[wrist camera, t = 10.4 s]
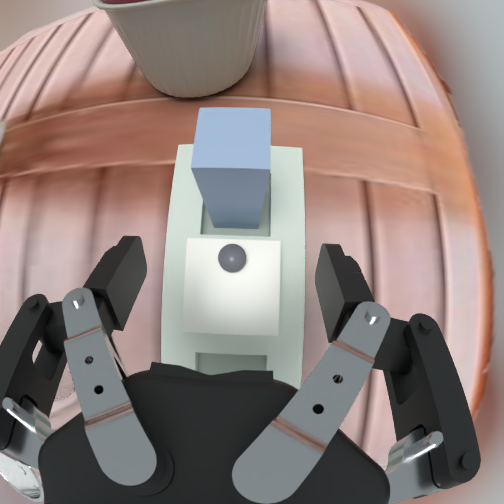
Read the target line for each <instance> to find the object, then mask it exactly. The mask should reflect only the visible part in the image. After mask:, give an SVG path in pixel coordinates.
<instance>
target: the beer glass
mask: <svg viewBox="0 0 504 504" xmlns="http://www.w3.org/2000/svg"><path fill="white" fill-rule="evenodd" d="M81 411H82V410H81V407H80V404H79V401H78V398H77V394H76V391H74V392H73V393H72V394H71V395H70V396H69V397H67V398H66V399H63V400H60V401H55V402H53V406H52V409H51V413H50V416H49V420H50V423H51V430H52V431H53V432H55V431H56V430H58V429H59V428H60V427H62V426H63V425H64V424H65V423H67V422H68V421H69V420H71V419H72V418H73V417H75V416H76V415H77V414H79V413H80V412H81ZM0 474H1V476H2V477H3V478H4V479H5V480H6V481H7V482H8V483H9V484H10V486H12V487H13V488H14V489H15V490H16V491H17V492H18V493H20V494H21V495H23V496H24V497H26V498H27V499H29V500H31V501H34V502H41V501H43V500H44V492H43V486H42V481H41V477H40V473H39V470H38V469H36V468H34V467H32V466H27V465H25V464H23V463H21V462H19V461H17V460H13V459H11V458H9V457H7V456H6V455H4V454H2V453H0Z"/></svg>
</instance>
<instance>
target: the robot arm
mask: <svg viewBox="0 0 504 504" xmlns="http://www.w3.org/2000/svg"><path fill="white" fill-rule="evenodd" d="M361 272H362V271H361V269H360V267H359V265H358V263H357V262H356V261H355V260H354V259H353V258H352V257H351V256H345V255H344V252H343V250H342V248H341V246H340V245H339V244H322V246H321V250H320V255H319V259H318V264H317V268H316V273H315V285H316V289H317V293H318V297H319V302H320V306H321V310H322V315H323V319H324V323H325V328H326V333H327V337H328V342H329V343H332V344H331V345H330V347H329V348H328V350H327V351H326V353H325V354H324V356H323V357H322V358H321V360H320V361H319V363H318V364H317V366H316V367H315V368H314V370H313V371H312V373H311V374H310V375H309V377H308V378H307V379H306V381H305V382H304V383H303V385H302V386H301V387H300V389H299V390H298V389H297V388H295V387H294V386H292V385H290V384H288V383H285V382H282V381H280V380H276V379H273V371H263V370H239V371H234V372H228V373H222V374H215V375H208V374H204V373H201V372H198V371H195V370H192V369H189V368H186V367H183V366H180V365H172V364H164V363H157V362H152V363H151V367H150V370H146V371H141V372H138V373H135V374H132V375H130V376H129V374H128V372H127V370H126V368H125V366H124V364H123V361H122V359H121V357H120V354H119V352H118V349H117V347H116V344H115V342H114V339H113V337H112V332H113V330H121V331H123V330H124V327H125V324H126V322H127V319H128V317H129V315H130V312H131V310H132V307H133V305H134V302H135V300H136V298H137V295H138V293H139V291H140V289H141V286H142V284H143V282H144V279H145V277H146V273H147V264H146V259H145V255H144V250H143V245H142V241H141V238H140V237H139V236H123V237H122V238H121V240H120V241H119V243H118V244H117V246H113V247H112V248H110V249H109V250H108V251H107V252H105V254H104V255H103V257H102V258H101V260H100V262H99V263H98V264H97V266H96V268H95V269H94V270H93V272H92V273H91V275H90V276H89V278H88V280H87V281H86V283H85V284H84V286H83V288H76V289H74V290H72V291H70V292H69V293H68V294H67V295H66V296H65V297H64V299H63V301H61V302H54V303H49V302H48V300H47V298H46V297H45V296H44V295H43V294H36V295H33V296H31V297H29V298H28V299H27V300H26V301H25V302H24V303H23V305H22V307H21V308H20V310H19V312H18V313H17V315H16V317H15V319H14V320H13V322H12V324H11V326H10V328H9V330H8V331H7V333H6V335H5V337H4V339H3V341H2V343H1V345H0V453H2V454H4V455H6V456H7V457H9V458H11V459H13V460H17V461H19V462H21V463H23V464H25V465H27V466H32V467H34V468H36V469H38V470H39V473H40V477H41V481H42V486H43V492H44V504H394V503H398V502H401V501H404V500H407V499H411V498H413V499H416V498H420V497H424V496H427V495H431V494H434V493H437V492H440V491H443V490H446V489H449V488H452V487H455V486H458V485H460V484H463V483H465V482H468V481H470V480H471V479H472V478H473V477H474V476H475V475H476V474H477V472H478V469H479V467H480V462H481V458H480V452H479V447H478V442H477V437H476V433H475V429H474V425H473V421H472V417H471V414H470V410H469V407H468V403H467V400H466V397H465V394H464V391H463V387H462V384H461V382H460V379H459V376H458V373H457V370H456V368H455V365H454V362H453V360H452V357H451V354H450V352H449V349H448V347H447V345H446V342H445V340H444V337H443V335H442V333H441V331H440V328H439V326H438V324H437V323H436V321H435V320H434V319H433V318H431V317H430V316H428V315H426V314H421V313H419V314H415V315H413V316H412V317H411V319H410V320H409V322H407V321H403V320H398V319H394V318H391V317H390V314H389V312H388V311H387V310H386V309H385V308H384V307H383V306H382V305H380V304H378V303H375V301H374V299H373V296H372V294H371V292H370V289H369V287H368V285H367V283H366V280H364V279H365V278H364V276H363V274H362V273H361ZM38 340H40V342H41V343H42V347H41V349H40V351H39V354H38V356H37V358H36V361H35V363H33V360H32V354H33V351H34V349H35V347H36V344H37V342H38ZM67 360H68V365H69V369H70V373H71V377H72V380H73V384H74V388H75V391H76V394H77V398H78V401H79V404H80V407H81V410H82V411H81V412H80V413H79V414H77V415H76V416H75V417H73V418H72V419H71V420H69V421H68V422H67V423H65V424H64V425H63V426H62V427H60V428H59V429H58V430H56V431H55V432H53V431H52V430H51V423H50V420H49V416H50V413H51V409H52V406H53V402H54V399H55V396H56V392H57V389H58V386H59V383H60V380H61V377H62V374H63V371H64V369H65V366H66V363H67ZM371 368H374V369H379V370H383V372H384V377H385V381H386V386H387V390H388V395H389V400H390V405H391V410H392V415H393V421H394V427H395V433H396V439H397V442H396V443H395V444H394V445H393V446H392V448H391V449H390V452H389V456H388V465H387V468H386V470H385V471H384V470H383V469H382V468H381V467H380V466H379V465H378V464H377V463H376V462H375V461H374V460H373V459H371V458H370V457H369V456H368V455H367V454H366V453H365V452H364V451H363V450H362V449H360V448H359V447H358V446H357V445H356V444H355V443H354V442H353V441H352V440H351V439H350V438H349V437H348V436H346V435H345V434H344V433H343V432H342V431H341V430H340V429H339V427H340V425H341V423H342V422H343V420H344V418H345V417H346V415H347V413H348V412H349V410H350V408H351V406H352V405H353V403H354V401H355V399H356V397H357V396H358V394H359V392H360V390H361V388H362V386H363V384H364V382H365V380H366V378H367V376H368V374H369V372H370V370H371Z"/></svg>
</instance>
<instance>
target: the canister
mask: <svg viewBox="0 0 504 504" xmlns="http://www.w3.org/2000/svg"><path fill="white" fill-rule="evenodd" d="M266 3H267V0H93V4H94V5H95V6H96V7H97V8H99V9H102V10H105V12H106V13H107V15H108V17H109V19H110V20H111V22H112V24H113V26H114V27H115V29H116V31H117V32H118V34H119V35H120V37H121V39H122V41H123V42H124V44H125V46H126V47H127V49H128V51H129V52H130V54H131V56H132V57H133V59H134V61H135V62H136V64H137V65H138V67H139V68H140V70H141V71H142V73H143V74H144V76H145V77H146V79H147V80H148V81H149V82H150V83H151V84H152V85H153V86H154V87H155V88H156V89H158V90H159V91H161V92H163V93H166V94H167V95H171V96H172V95H173V96H175V97H183V98H186V97H190V98H193V97H202V96H208V95H211V94H216V93H217V92H219V91H223V90H224V89H226V88H229V87H231V86H232V85H233V84H235V83H237V82H238V80H239V79H241V78H242V77H243V76H244V74H245V73H246V72H247V71H248V69H249V67H250V65H251V63H252V60H253V57H254V53H255V49H256V46H257V42H258V38H259V33H260V29H261V25H262V20H263V16H264V12H265V7H266Z"/></svg>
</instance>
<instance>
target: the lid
mask: <svg viewBox="0 0 504 504" xmlns="http://www.w3.org/2000/svg"><path fill="white" fill-rule="evenodd" d="M280 245H281V241H270V240H242V239H212V238H187V247H186V262H185V279H184V301H183V332H195V333H210V334H230V335H265V336H278V333H279V300H280Z"/></svg>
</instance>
